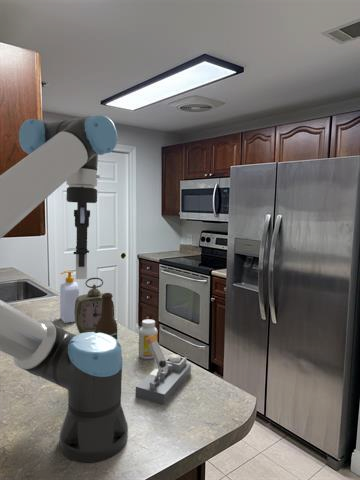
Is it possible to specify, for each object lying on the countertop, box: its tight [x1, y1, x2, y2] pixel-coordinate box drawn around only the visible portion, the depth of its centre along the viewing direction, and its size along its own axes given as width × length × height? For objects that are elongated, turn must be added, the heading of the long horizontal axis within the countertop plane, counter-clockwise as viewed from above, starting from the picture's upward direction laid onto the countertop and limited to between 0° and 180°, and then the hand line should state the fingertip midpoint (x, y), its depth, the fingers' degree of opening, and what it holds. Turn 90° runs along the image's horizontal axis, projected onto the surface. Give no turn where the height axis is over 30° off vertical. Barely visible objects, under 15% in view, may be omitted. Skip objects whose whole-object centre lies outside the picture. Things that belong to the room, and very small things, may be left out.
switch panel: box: [135, 354, 192, 406], centre depth 104 cm, size 9×20×5 cm, turn 157°
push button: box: [168, 353, 182, 363], centre depth 110 cm, size 4×4×2 cm
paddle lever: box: [145, 334, 170, 375], centre depth 104 cm, size 2×4×12 cm, turn 158°
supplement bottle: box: [138, 318, 159, 360], centre depth 123 cm, size 7×7×13 cm
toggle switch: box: [154, 360, 166, 385], centre depth 97 cm, size 2×2×8 cm
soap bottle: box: [59, 270, 80, 324], centre depth 158 cm, size 9×7×23 cm
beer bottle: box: [96, 292, 118, 341], centre depth 116 cm, size 8×8×24 cm
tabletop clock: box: [74, 277, 115, 334], centre depth 137 cm, size 14×9×25 cm, turn 114°
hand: (81, 278), depth 89 cm, fingers closed
